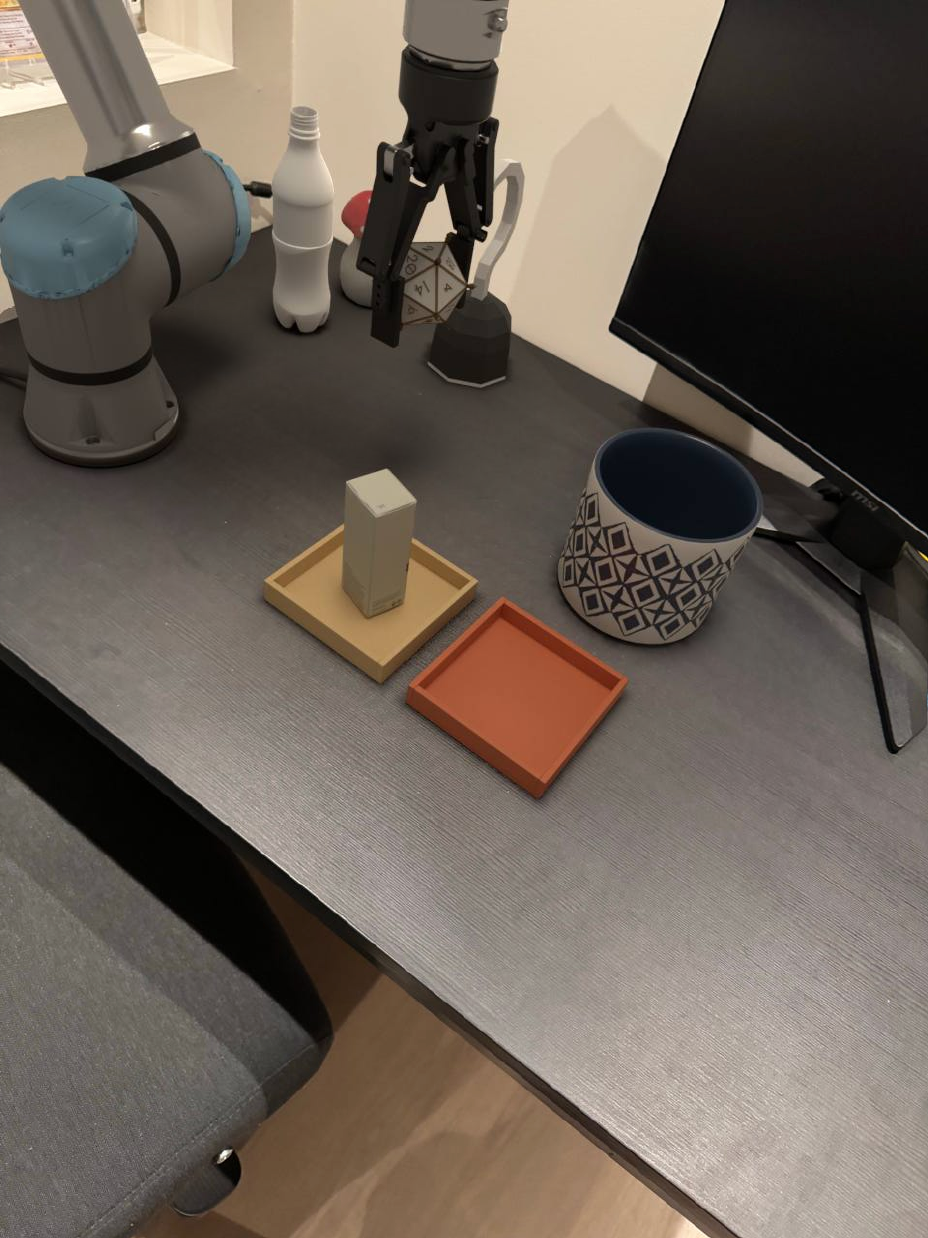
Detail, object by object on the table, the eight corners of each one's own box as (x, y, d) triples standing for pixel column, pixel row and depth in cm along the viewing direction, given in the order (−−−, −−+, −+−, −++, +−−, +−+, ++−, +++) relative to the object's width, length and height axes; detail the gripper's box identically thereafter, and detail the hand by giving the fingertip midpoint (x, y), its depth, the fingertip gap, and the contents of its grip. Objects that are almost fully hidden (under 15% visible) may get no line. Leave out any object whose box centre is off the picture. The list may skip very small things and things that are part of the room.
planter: (545, 530, 91) (579, 420, 80) (683, 537, 94) (734, 432, 83) (570, 645, 81) (613, 538, 70) (724, 650, 83) (788, 547, 73)
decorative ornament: (406, 307, 116) (419, 196, 105) (368, 318, 113) (377, 205, 101) (365, 275, 120) (373, 165, 109) (327, 285, 116) (332, 172, 105)
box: (405, 604, 80) (421, 502, 70) (365, 620, 78) (377, 518, 68) (376, 567, 82) (388, 465, 73) (337, 583, 80) (343, 479, 71)
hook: (486, 398, 105) (529, 193, 86) (410, 365, 107) (436, 157, 88) (523, 359, 112) (571, 162, 93) (451, 328, 114) (484, 129, 96)
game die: (428, 367, 83) (461, 327, 73) (350, 320, 80) (374, 272, 71) (465, 292, 84) (501, 244, 75) (390, 244, 82) (418, 188, 73)
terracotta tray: (404, 702, 73) (408, 684, 71) (497, 613, 82) (502, 596, 80) (538, 799, 69) (545, 783, 67) (621, 696, 78) (629, 679, 76)
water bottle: (274, 304, 111) (271, 94, 92) (329, 309, 112) (337, 103, 94) (272, 334, 107) (269, 119, 88) (329, 339, 108) (338, 128, 89)
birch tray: (264, 599, 78) (263, 580, 76) (364, 525, 87) (366, 507, 85) (380, 684, 74) (383, 666, 72) (474, 598, 83) (478, 580, 81)
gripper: (399, 96, 56) (374, 383, 73) (566, 46, 70) (514, 298, 86) (313, 59, 58) (309, 346, 75) (492, 17, 72) (455, 268, 88)
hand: (418, 320), depth 81 cm, fingers closed on game die, 10 cm apart
